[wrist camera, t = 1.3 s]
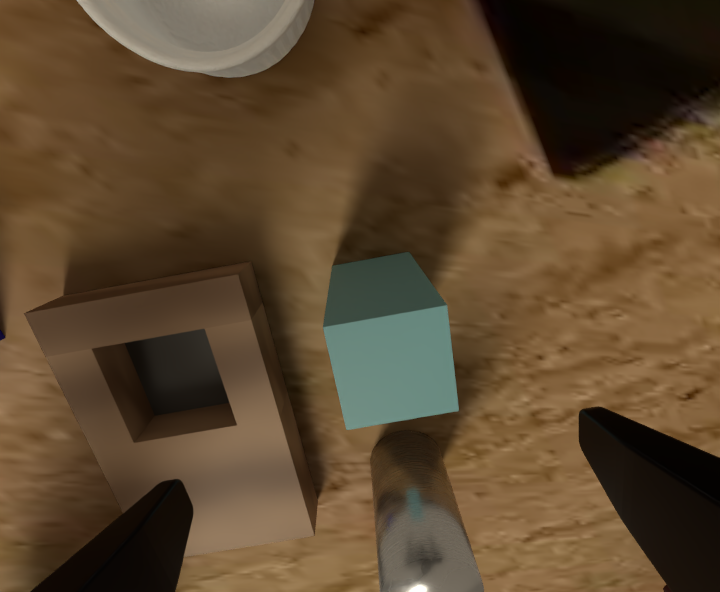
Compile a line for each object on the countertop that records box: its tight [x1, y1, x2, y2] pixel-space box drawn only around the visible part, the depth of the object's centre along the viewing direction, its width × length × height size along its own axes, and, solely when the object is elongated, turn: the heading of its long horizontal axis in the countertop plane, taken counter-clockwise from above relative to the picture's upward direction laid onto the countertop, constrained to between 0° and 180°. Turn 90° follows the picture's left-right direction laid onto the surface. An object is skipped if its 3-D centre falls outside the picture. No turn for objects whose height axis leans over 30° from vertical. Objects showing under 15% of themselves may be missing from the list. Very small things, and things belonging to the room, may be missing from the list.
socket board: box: [24, 261, 318, 557], centre depth 21 cm, size 16×10×2 cm, turn 10°
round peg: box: [370, 431, 484, 592], centre depth 20 cm, size 4×4×8 cm
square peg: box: [323, 252, 459, 430], centre depth 17 cm, size 4×4×8 cm
